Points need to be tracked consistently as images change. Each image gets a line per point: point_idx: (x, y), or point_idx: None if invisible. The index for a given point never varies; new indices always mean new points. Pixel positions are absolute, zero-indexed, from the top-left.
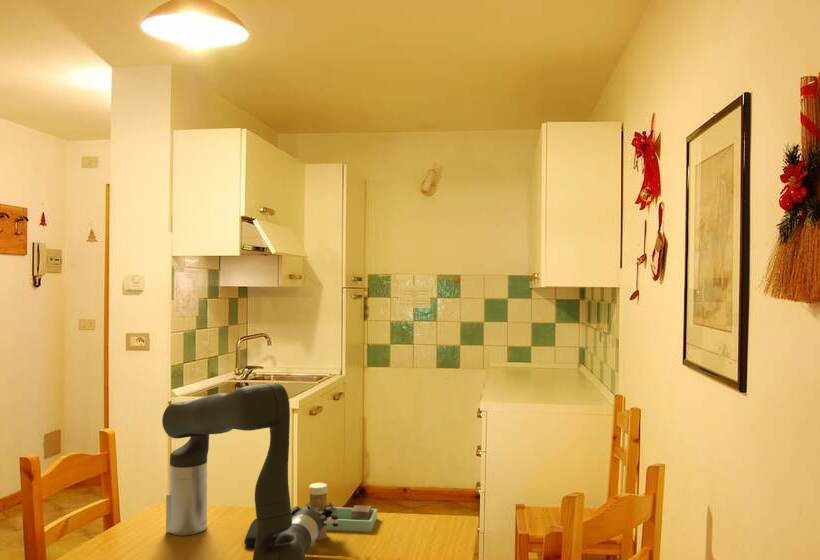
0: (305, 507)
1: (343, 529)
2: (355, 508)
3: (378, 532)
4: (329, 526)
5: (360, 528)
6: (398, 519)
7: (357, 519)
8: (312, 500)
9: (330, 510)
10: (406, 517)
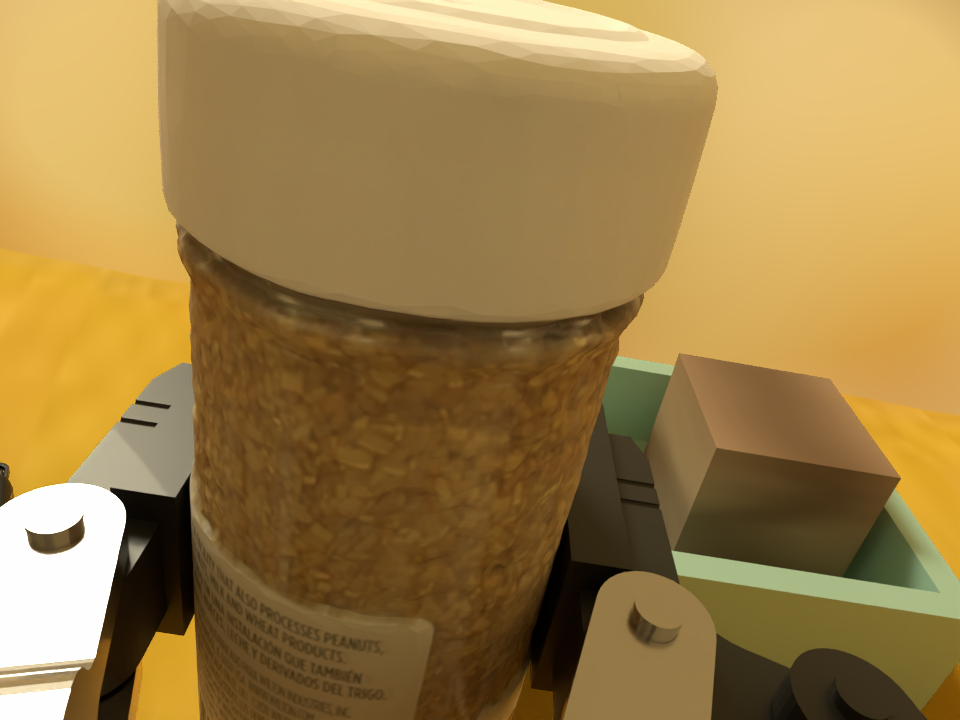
0: (55, 582)
1: None
2: (723, 403)
3: (954, 674)
4: None
5: None
6: (919, 462)
7: (752, 524)
8: (261, 435)
9: (729, 710)
10: (946, 443)
